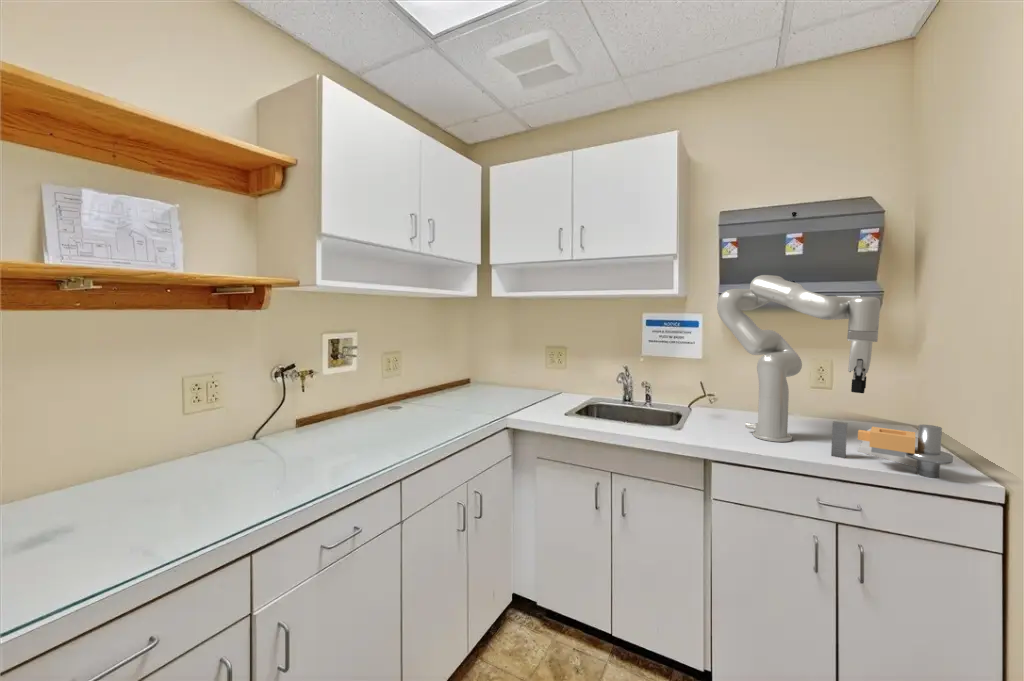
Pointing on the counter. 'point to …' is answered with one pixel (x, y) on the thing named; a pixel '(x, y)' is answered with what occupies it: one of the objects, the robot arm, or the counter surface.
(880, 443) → the bracket
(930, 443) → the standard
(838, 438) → the grey rectangular bar
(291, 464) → the counter surface
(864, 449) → the white curved casing
